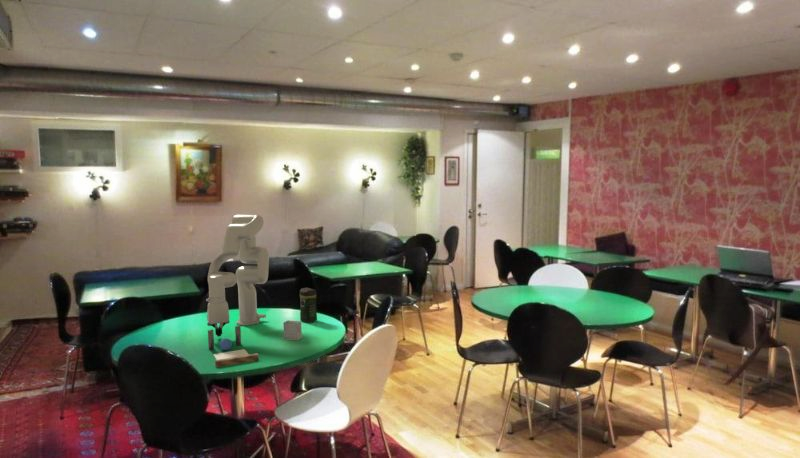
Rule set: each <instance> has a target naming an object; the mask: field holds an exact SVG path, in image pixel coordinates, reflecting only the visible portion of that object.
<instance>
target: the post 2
mask: <svg viewBox="0 0 800 458" xmlns="http://www.w3.org/2000/svg"><path fill="white" fill-rule="evenodd" d="M241 327H242V326H241V325H235V326H234V332H235V333H234V335H235V346H237V347H239V346H241V345H242V329H241Z"/></svg>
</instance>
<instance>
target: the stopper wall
mask: <svg viewBox="0 0 800 458" xmlns="http://www.w3.org/2000/svg"><path fill="white" fill-rule="evenodd" d="M259 359H260V358H259V353H257V352H256V353H251V354H249V355H244V356H238V357H232V358H226V359H220V360H216V359H215V360H214V366H215V368H219V367H220V368H221V367H225V366H226V367H227V366H231V365H233V366H234V365H238V364H239V365H240V364H243V363H249V362H255V361H259Z"/></svg>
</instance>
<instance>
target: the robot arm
mask: <svg viewBox="0 0 800 458" xmlns="http://www.w3.org/2000/svg"><path fill="white" fill-rule="evenodd" d="M263 227H264V218H263V216H262V215H260V214H235V215H233V217H231V223H230V224H229V225H227V226H226V229H225V234H224V237H223V243H222V247H221V251H220V253H219V254H217V256H216V257H215V258H213V260H212V262H211V263H210V265H209V268H208V273H207V284H208V298H206V300H205V301H206V302H208V303H207V309H206V311H207V313H206V318H207V320H206V321H207V323H206V326H207V327H213V328H214V332H215V336H216V337H218V338H219V337H222V335H223V328H224V327H225V325H227V324H230V311H229V310H230V309H229V304H228V301H227V300H226V289H225V288H231V287H234V286H235V285H236V284H237V290H238V291H237V293H238V316H239V318H238V319H237V320H236V324H237V326H252V325H257V324H259V323H261V319H264V318H266V317H267V314H266V313H260V314H259V313H258V308H257V306H258V303H257V289H256V287H255V285H256V284H257V285H264V284H265V283H267V281H268V278H269V268H270V267H269V266H270V254H269V250H268V248H266V247H265V246H258V245H257V242H256V241H257V239H256V238H257V237H256V236H257V234H258V233H259V232H261V230H262V229H263ZM238 255H239V261H240V262H241V263H243V264H246V265H242V266H240V267H237V269H236V270H235V273H234V272H231V271H230V272H229V271H227V272H226V271H219V270H220V268H221V266H222V265H223V264H224V263H225V262H228V261H230V260H232V259H234V258H236V257H238ZM247 264H250V265H247ZM251 264H252V265H251ZM253 264H254V266H253ZM255 265H257V266H255ZM218 324H219V326H218Z"/></svg>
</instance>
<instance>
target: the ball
mask: <svg viewBox="0 0 800 458" xmlns="http://www.w3.org/2000/svg"><path fill="white" fill-rule="evenodd" d="M232 343H233V342H232V341H231V339H229V338H223V339H221V340H220V341H219V344H218V346H219V348H220V350H221V351H225V352H227V351H230V349H231V348H232Z"/></svg>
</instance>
